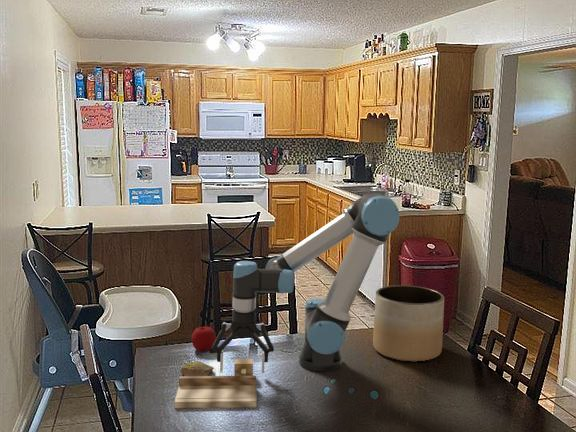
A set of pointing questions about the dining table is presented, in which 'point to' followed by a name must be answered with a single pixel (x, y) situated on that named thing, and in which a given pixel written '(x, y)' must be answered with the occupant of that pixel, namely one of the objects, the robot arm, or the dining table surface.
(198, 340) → the apple
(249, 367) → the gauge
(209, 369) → the rock
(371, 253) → the robot arm
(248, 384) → the board
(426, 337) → the planter
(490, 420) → the dining table surface
